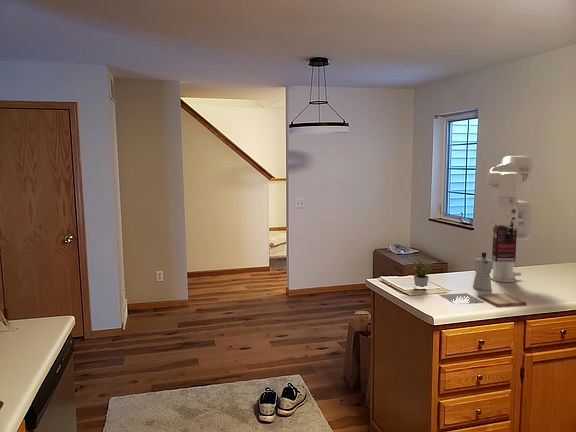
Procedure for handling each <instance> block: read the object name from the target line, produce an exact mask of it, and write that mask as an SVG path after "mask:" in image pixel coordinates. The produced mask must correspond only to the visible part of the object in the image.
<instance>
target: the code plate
mask: <svg viewBox="0 0 576 432" xmlns="http://www.w3.org/2000/svg"><path fill="white" fill-rule="evenodd" d="M440 295H441V297H442V298H444V299H445V298H446V300H447V299H448V300H447V301H449V302H451V303H452V301H453V299H454V301H455V300H456V298H458V299H459V298H461V299H462V298H463V300H464V299H465V298H466V297H467V296H468V297H469V298H470V299H469V298H467V299H469V301H470V302H469V301H468V302H469V304H483V303H485V301H484V300H483V301H482V299H480V298H478V297H475V296H473V295H471V294H469V293H467V292H466V293H464V292H463V293H444V294H440ZM457 296H458V297H457ZM460 296H461V297H460ZM464 296H465V298H464ZM461 299H460V300H461ZM451 300H452V301H451Z"/></svg>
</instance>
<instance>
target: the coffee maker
mask: <svg viewBox="0 0 576 432" xmlns="http://www.w3.org/2000/svg"><path fill="white" fill-rule="evenodd" d="M473 261H474V271H475V275H474V279H473V284H472V288H473V289H475V290H479V291H491V290H493V289H492V281H491V280H492V279H490V275H491V273H492V270H493V264H494V262H493V261H492V258H488V257H487V252H481V256H478V257H474V259H473Z"/></svg>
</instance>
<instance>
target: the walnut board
mask: <svg viewBox="0 0 576 432" xmlns="http://www.w3.org/2000/svg"><path fill="white" fill-rule="evenodd" d="M477 298H478V299H480V300H483V301H484V302H487V303H488V304H491V305H493V306H495V307H497V308H499V307H512V306H514V307H515V306H526V305H527V302H526V301H524V300H522V299H519V298H517V297H516V296H513V295H511V294H509V293H506V292H500V293H498V292H497V293H483V294H482V293H481V294H480V293H479V294H477Z"/></svg>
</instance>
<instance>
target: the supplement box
mask: <svg viewBox="0 0 576 432" xmlns="http://www.w3.org/2000/svg"><path fill="white" fill-rule="evenodd" d="M492 228H493V231H492V232H493V235H492V251H491V252H492V253H491V260H492V261H493V263H494V262H495V263H514V264H516V255H517V240H516V237H517V230H516V231H515V232H514V234H513V243H505V240H506V234H507V230H506V227H502V226H494V225H493V227H492ZM509 231H510V229H509Z"/></svg>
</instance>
